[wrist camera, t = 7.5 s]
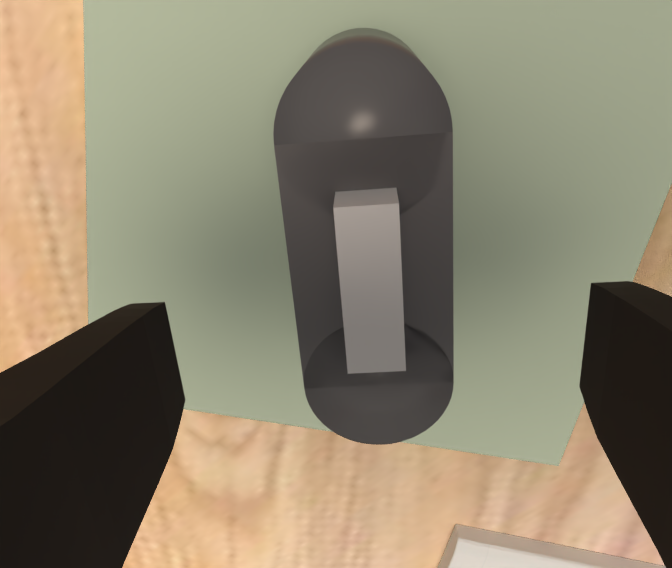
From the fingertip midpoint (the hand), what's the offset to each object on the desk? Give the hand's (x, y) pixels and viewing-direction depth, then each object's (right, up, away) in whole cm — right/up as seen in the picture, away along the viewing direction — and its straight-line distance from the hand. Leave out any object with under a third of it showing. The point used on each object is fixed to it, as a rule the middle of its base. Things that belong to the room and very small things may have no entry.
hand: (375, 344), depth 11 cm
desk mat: (0, +3, +7) cm, 8 cm away
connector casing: (0, +3, +7) cm, 8 cm away
